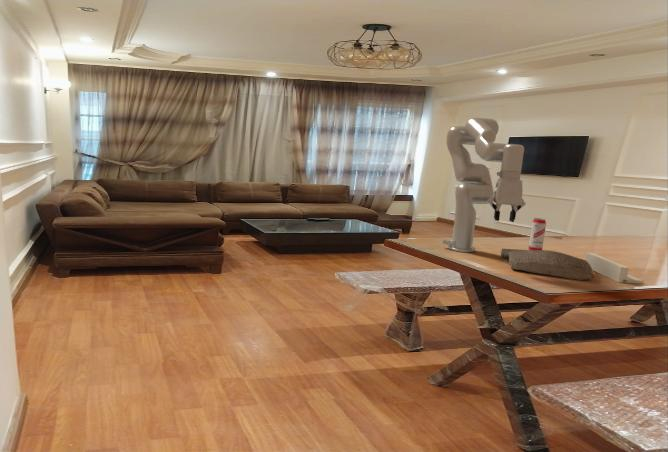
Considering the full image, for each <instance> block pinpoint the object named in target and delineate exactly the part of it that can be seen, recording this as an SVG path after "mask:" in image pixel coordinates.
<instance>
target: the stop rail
mask: <svg viewBox="0 0 668 452" xmlns="http://www.w3.org/2000/svg"><path fill="white" fill-rule="evenodd" d="M584 260H586V261H587V262H588V263H589V264H590V266H591V268H592V271H594V272H596V273H598V274H600V275H602V276H604V277H606V278H608V279H611V280H613V281H615V282H617V283H622V284H623V283H624V284H625V283H627V284H639V285H640V284H642V285H643V284H644V280H642V279H640V278H638V277H635V276H633V275H631V274H629V269H630V268H629V266H626V265H623V264H621V263H618V262H616V261H613V260H611V259H608V258H606V257H603V256H601V255H599V254H596V253H594V252H586V253H585V257H584Z"/></svg>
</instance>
